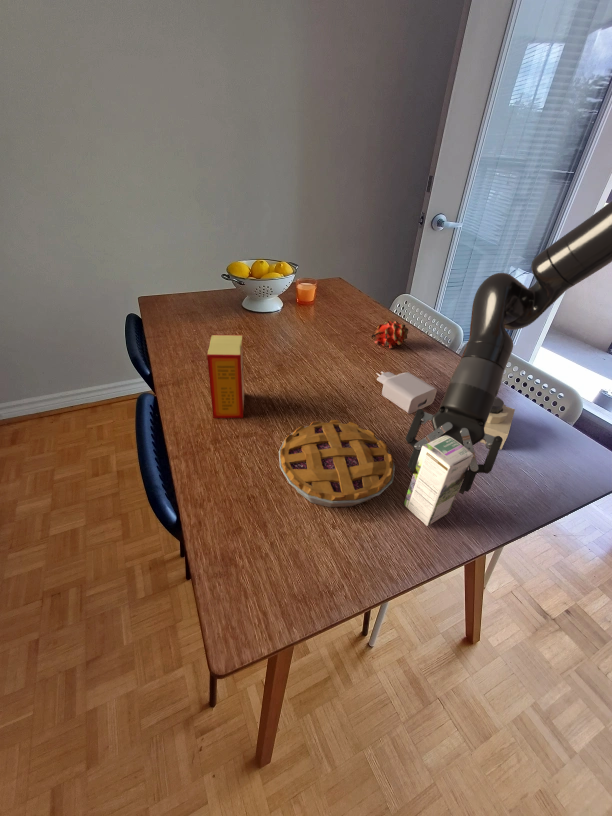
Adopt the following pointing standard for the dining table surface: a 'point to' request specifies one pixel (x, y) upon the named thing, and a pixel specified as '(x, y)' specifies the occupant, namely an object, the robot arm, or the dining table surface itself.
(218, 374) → the baking soda box
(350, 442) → the pie
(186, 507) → the dining table surface
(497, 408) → the lid button
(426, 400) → the charger
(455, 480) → the syrup box
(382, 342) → the dragon fruit
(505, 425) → the beige faceted block
